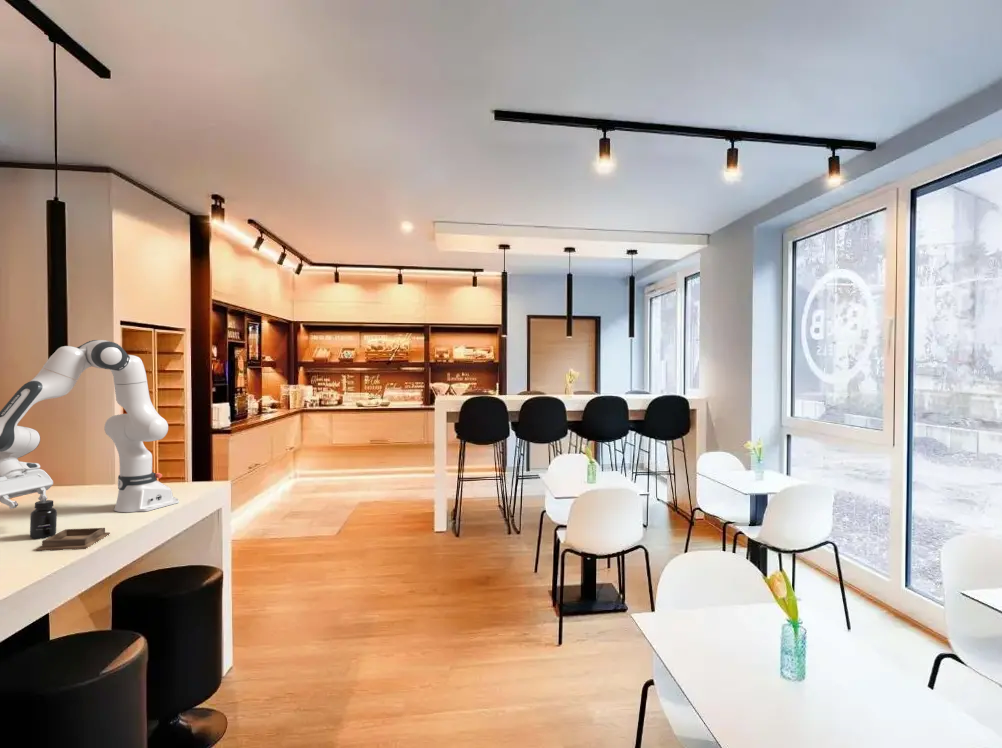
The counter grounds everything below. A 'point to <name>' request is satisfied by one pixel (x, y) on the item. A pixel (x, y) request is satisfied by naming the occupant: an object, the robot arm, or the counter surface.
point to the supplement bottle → (43, 520)
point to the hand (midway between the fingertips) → (29, 503)
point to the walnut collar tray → (73, 539)
